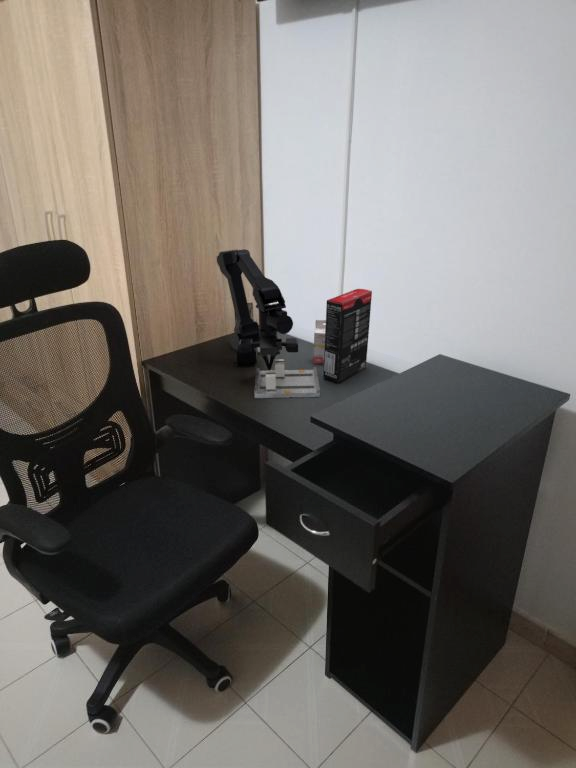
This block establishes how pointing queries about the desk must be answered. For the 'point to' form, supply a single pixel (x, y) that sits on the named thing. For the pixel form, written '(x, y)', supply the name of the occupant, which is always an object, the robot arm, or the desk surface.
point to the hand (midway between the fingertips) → (269, 369)
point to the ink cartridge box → (319, 342)
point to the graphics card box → (346, 334)
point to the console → (289, 384)
